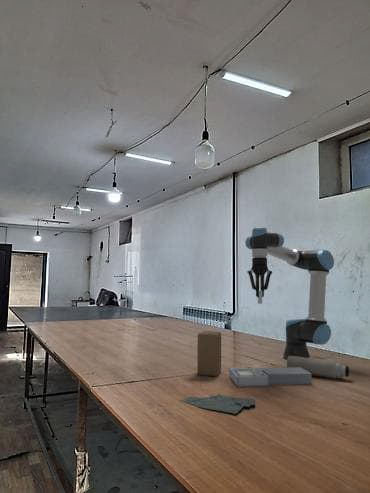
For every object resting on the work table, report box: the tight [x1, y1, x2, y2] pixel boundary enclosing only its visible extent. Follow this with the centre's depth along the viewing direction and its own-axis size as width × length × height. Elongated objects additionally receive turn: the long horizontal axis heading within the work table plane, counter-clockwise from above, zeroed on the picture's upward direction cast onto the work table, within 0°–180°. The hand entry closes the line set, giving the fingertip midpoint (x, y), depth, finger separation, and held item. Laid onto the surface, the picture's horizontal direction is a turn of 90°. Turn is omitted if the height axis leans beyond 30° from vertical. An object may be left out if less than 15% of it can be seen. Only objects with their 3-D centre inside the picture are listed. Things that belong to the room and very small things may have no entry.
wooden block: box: [196, 330, 222, 377], centre depth 182 cm, size 10×10×20 cm
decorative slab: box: [180, 393, 256, 417], centre depth 136 cm, size 26×24×2 cm
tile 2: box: [251, 364, 263, 377], centre depth 168 cm, size 6×6×3 cm
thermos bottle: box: [286, 356, 350, 379], centre depth 179 cm, size 8×8×28 cm
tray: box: [228, 367, 270, 388], centre depth 168 cm, size 14×16×4 cm
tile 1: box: [237, 372, 254, 377], centre depth 168 cm, size 6×6×3 cm
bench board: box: [261, 367, 313, 386], centre depth 170 cm, size 20×12×4 cm, turn 96°
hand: (260, 303), depth 187 cm, fingers closed
